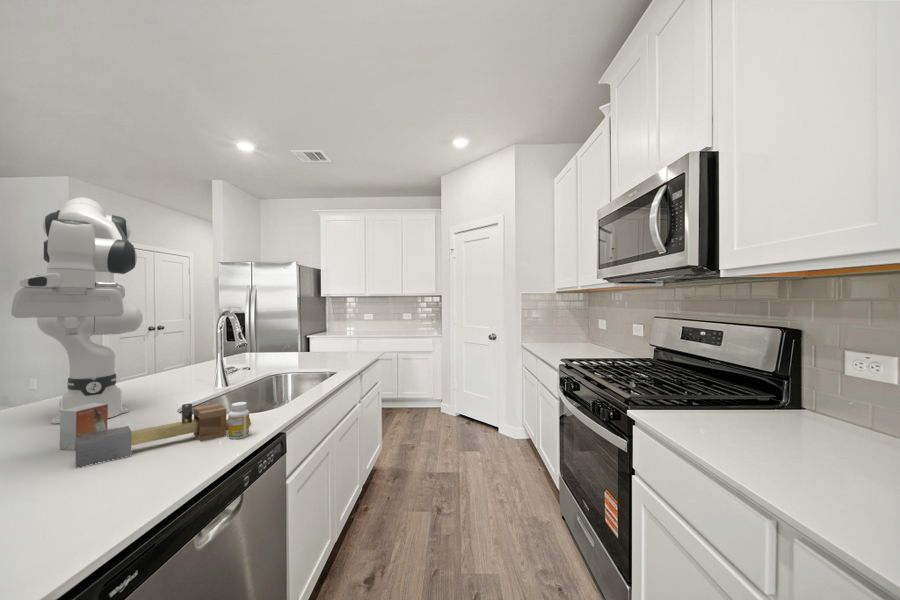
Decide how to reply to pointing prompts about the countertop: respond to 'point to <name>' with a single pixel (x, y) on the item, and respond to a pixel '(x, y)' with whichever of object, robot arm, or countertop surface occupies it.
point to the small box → (81, 422)
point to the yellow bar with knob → (167, 428)
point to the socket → (210, 421)
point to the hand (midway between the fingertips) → (71, 334)
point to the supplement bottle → (238, 421)
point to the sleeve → (103, 446)
